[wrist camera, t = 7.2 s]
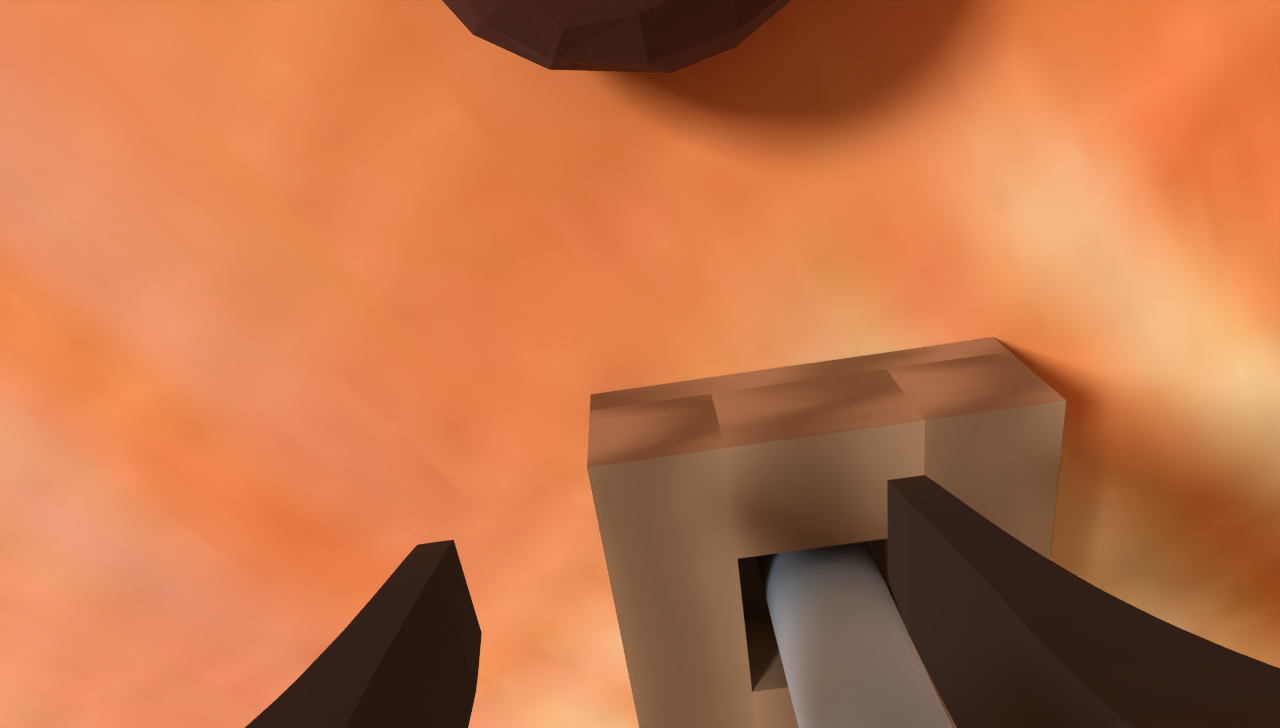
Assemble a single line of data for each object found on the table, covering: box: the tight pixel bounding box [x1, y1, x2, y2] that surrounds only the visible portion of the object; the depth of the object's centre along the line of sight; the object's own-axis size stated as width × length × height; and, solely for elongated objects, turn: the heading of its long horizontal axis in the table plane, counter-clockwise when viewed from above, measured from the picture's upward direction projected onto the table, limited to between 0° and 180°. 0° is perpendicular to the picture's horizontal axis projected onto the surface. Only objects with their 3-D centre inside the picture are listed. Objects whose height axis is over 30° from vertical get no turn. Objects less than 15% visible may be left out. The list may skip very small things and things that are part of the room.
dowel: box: [756, 541, 952, 728], centre depth 21 cm, size 3×3×8 cm
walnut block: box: [587, 338, 1066, 728], centre depth 24 cm, size 12×12×4 cm
